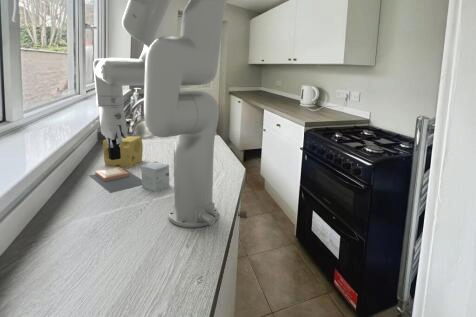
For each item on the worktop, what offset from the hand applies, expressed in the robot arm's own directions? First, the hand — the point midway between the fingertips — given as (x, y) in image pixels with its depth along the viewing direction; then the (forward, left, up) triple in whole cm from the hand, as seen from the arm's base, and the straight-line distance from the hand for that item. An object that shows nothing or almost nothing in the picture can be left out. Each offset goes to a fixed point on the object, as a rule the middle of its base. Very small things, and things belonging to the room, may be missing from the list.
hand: (115, 158), depth 98 cm
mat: (-1, 0, -7) cm, 7 cm away
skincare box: (-13, -7, -7) cm, 17 cm away
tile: (0, 0, -6) cm, 6 cm away
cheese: (+15, -9, -7) cm, 19 cm away
